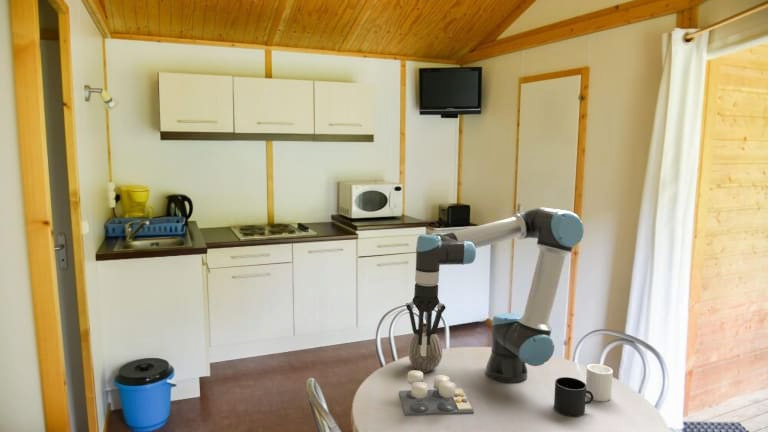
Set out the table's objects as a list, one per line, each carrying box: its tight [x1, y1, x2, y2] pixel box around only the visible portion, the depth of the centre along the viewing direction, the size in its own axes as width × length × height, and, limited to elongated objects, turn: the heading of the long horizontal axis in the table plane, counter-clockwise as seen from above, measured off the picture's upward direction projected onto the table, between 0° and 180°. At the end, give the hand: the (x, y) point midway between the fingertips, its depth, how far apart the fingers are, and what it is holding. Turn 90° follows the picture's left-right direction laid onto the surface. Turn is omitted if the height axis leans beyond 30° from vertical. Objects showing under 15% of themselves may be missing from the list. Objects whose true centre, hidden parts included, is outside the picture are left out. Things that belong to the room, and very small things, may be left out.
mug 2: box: [585, 363, 614, 402], centre depth 175 cm, size 8×12×10 cm, turn 7°
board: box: [399, 388, 474, 417], centre depth 168 cm, size 22×16×2 cm
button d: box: [410, 381, 429, 402], centre depth 162 cm, size 5×5×5 cm
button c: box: [407, 369, 424, 386], centre depth 171 cm, size 5×5×5 cm
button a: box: [433, 374, 450, 393], centre depth 172 cm, size 5×5×5 cm
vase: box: [407, 322, 443, 373], centre depth 194 cm, size 13×13×18 cm
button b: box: [439, 380, 456, 401], centre depth 163 cm, size 5×5×5 cm
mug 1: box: [553, 376, 593, 418], centre depth 163 cm, size 9×12×9 cm
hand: (423, 354), depth 163 cm, fingers closed
